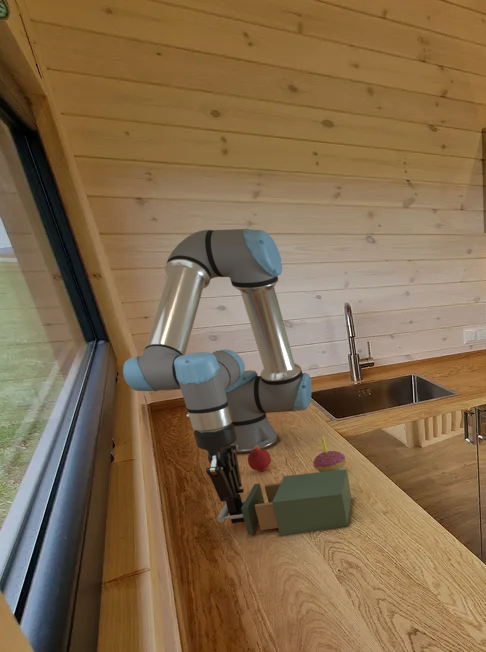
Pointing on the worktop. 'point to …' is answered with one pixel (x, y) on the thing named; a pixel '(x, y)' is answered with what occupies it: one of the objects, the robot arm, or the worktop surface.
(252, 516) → the drawer
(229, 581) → the worktop surface
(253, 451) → the onion
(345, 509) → the cabinet
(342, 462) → the cupcake
